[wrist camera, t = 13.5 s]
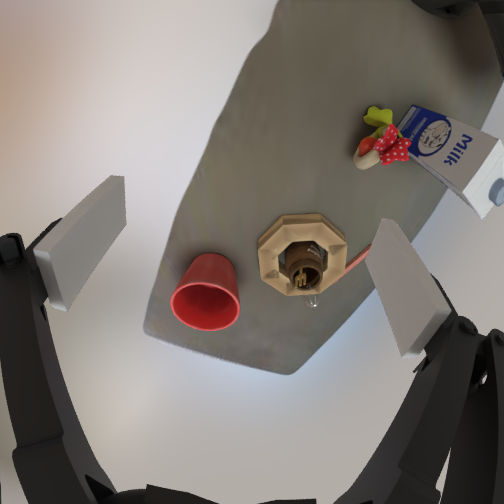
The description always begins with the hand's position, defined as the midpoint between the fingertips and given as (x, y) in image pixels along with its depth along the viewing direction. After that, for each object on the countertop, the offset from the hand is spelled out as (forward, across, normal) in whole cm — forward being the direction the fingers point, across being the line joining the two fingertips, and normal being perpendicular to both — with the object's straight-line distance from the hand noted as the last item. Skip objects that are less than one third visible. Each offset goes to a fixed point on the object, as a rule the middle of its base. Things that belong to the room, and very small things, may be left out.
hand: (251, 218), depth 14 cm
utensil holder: (+29, +10, -20) cm, 37 cm away
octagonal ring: (+29, +10, -20) cm, 36 cm away
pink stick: (+29, +20, -21) cm, 41 cm away
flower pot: (+29, -4, -27) cm, 39 cm away
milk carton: (+29, +23, +4) cm, 37 cm away
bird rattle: (+29, +16, +1) cm, 33 cm away
